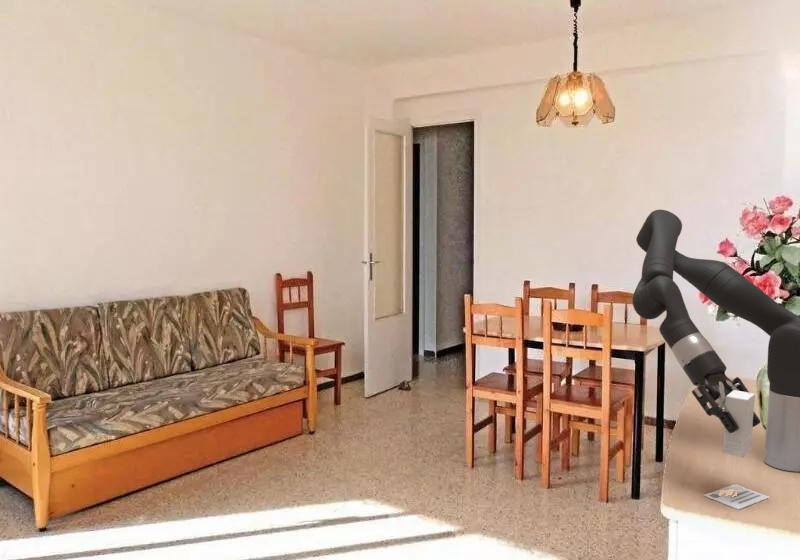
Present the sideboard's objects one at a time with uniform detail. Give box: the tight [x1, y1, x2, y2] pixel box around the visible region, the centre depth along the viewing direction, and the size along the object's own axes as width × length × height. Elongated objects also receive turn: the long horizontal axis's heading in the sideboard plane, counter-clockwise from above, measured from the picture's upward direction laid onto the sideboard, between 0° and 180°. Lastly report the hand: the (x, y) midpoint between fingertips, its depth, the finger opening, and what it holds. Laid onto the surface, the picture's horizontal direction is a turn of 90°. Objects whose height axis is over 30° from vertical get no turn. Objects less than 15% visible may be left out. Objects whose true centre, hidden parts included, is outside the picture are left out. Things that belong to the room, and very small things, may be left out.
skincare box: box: [721, 390, 756, 458], centre depth 139 cm, size 6×4×12 cm
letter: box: [703, 484, 771, 511], centre depth 140 cm, size 11×8×1 cm
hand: (745, 427), depth 137 cm, fingers closed on skincare box, 7 cm apart
